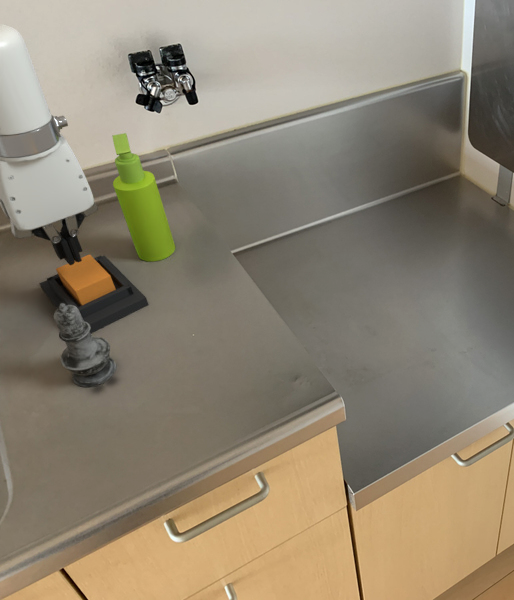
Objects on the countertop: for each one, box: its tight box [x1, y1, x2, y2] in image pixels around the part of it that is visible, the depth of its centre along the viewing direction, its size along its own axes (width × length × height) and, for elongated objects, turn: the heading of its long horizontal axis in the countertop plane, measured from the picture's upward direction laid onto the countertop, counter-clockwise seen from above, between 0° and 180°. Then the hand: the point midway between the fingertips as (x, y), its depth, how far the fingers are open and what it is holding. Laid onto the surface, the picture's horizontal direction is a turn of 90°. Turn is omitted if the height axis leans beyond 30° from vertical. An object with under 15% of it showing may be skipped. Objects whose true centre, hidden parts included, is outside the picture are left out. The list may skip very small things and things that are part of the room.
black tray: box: [39, 254, 149, 334], centre depth 90 cm, size 10×14×3 cm
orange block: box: [55, 254, 116, 306], centre depth 89 cm, size 5×7×4 cm
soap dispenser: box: [111, 132, 176, 263], centre depth 93 cm, size 6×7×20 cm
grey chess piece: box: [53, 303, 117, 388], centre depth 76 cm, size 6×6×12 cm
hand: (71, 258), depth 85 cm, fingers closed
